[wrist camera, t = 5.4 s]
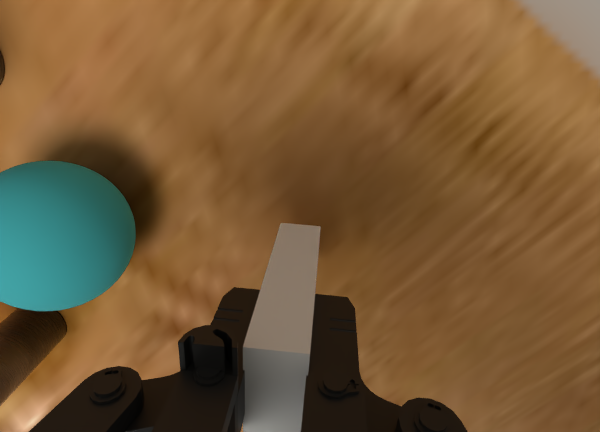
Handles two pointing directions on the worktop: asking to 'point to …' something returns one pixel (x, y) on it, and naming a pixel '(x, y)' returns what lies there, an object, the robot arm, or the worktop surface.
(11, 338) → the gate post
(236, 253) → the worktop surface
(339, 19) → the worktop surface
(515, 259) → the worktop surface
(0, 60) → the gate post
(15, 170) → the ball
